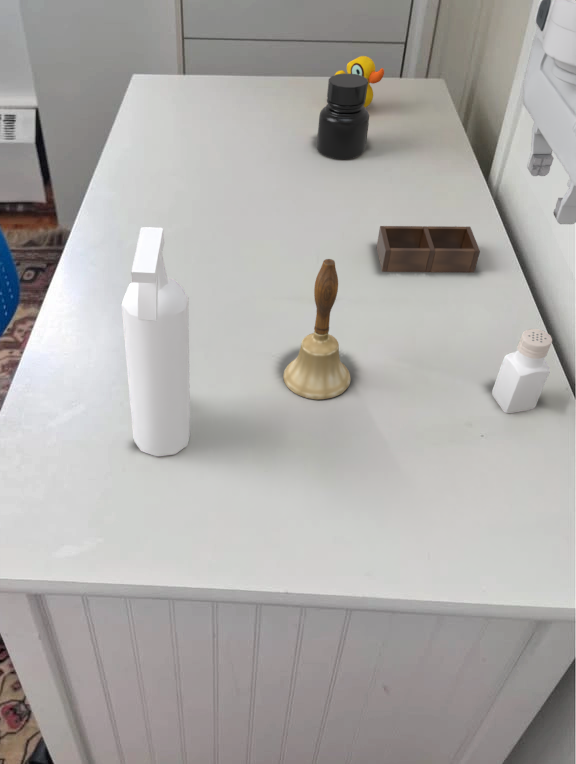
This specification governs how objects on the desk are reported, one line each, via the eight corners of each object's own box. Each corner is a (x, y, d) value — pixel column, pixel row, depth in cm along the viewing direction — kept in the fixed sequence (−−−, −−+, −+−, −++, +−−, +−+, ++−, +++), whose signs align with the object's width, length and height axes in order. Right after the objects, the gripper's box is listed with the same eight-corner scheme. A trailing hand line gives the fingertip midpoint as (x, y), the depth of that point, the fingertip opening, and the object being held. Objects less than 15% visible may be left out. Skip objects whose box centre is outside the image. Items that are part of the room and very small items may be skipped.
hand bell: (269, 374, 90) (275, 259, 78) (319, 349, 93) (332, 235, 81) (313, 409, 85) (327, 293, 73) (364, 382, 88) (385, 266, 77)
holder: (462, 254, 108) (470, 226, 105) (472, 280, 103) (480, 251, 100) (375, 254, 109) (380, 225, 105) (380, 279, 104) (385, 250, 100)
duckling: (384, 114, 144) (393, 59, 137) (369, 122, 142) (376, 66, 134) (339, 99, 150) (345, 46, 142) (323, 107, 147) (328, 52, 140)
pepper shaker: (535, 411, 84) (563, 345, 77) (504, 416, 84) (529, 350, 77) (519, 389, 87) (544, 324, 80) (488, 394, 87) (511, 329, 80)
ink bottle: (374, 146, 134) (384, 77, 125) (355, 165, 129) (364, 93, 120) (326, 136, 137) (333, 67, 129) (306, 153, 132) (311, 83, 124)
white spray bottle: (199, 398, 87) (191, 199, 68) (188, 470, 79) (176, 268, 60) (144, 395, 87) (122, 197, 69) (127, 467, 79) (97, 265, 61)
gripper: (699, 75, 50) (621, 253, 61) (605, -8, 64) (554, 149, 74) (608, 76, 51) (545, 253, 61) (533, -7, 64) (492, 149, 75)
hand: (549, 195), depth 68 cm, fingers open, 8 cm apart
